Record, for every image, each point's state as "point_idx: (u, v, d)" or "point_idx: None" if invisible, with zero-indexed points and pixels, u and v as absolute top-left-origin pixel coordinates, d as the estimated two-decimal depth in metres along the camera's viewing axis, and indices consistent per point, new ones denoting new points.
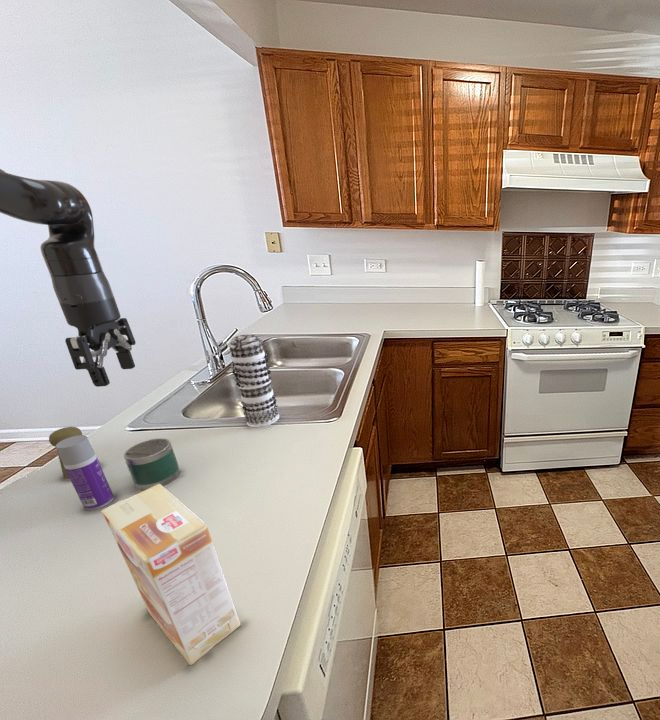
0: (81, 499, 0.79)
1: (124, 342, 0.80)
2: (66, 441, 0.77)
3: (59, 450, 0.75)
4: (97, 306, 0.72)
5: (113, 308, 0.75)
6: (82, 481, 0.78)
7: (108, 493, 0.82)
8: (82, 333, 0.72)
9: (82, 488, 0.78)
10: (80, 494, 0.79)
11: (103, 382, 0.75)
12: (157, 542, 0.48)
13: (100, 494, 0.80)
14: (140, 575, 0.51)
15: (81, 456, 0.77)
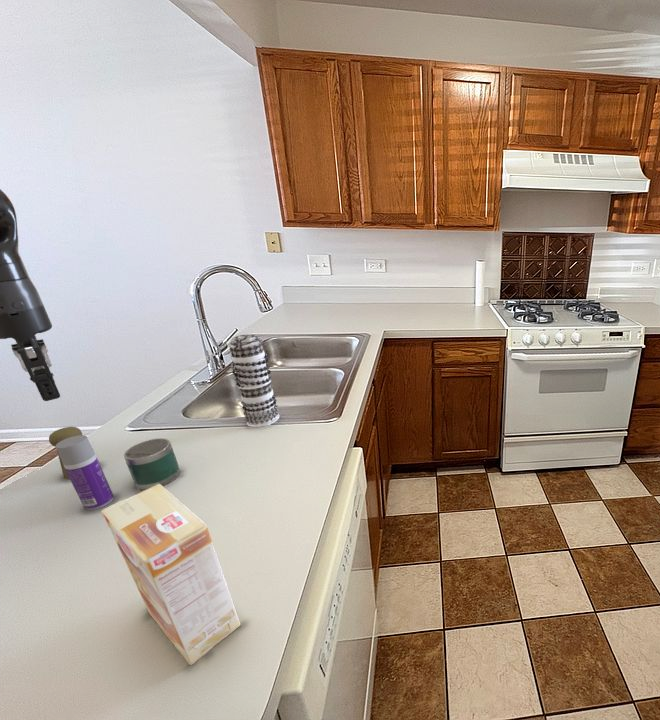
0: (81, 499, 0.79)
1: (47, 354, 0.74)
2: (66, 441, 0.77)
3: (59, 450, 0.75)
4: (37, 313, 0.68)
5: (47, 314, 0.70)
6: (82, 481, 0.78)
7: (108, 493, 0.82)
8: (24, 344, 0.67)
9: (82, 488, 0.78)
10: (80, 494, 0.79)
11: (56, 394, 0.70)
12: (157, 542, 0.48)
13: (100, 494, 0.80)
14: (140, 575, 0.51)
15: (81, 456, 0.77)
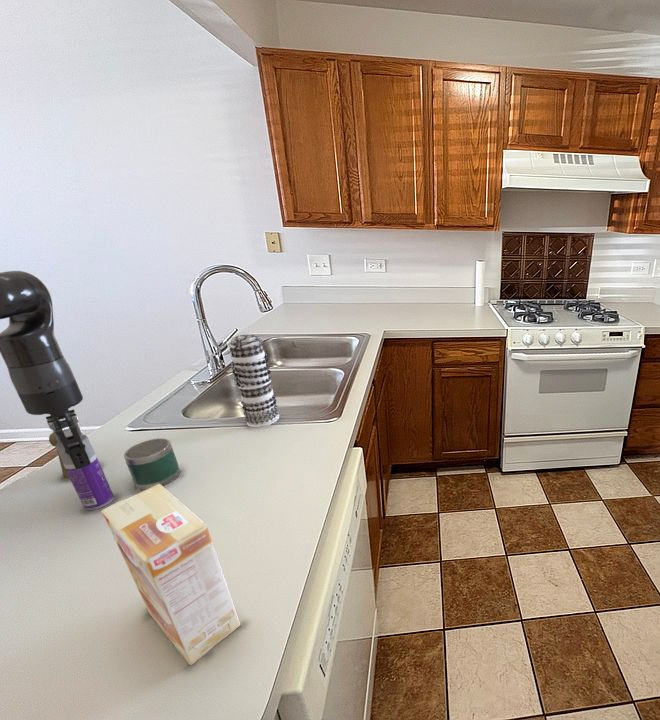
0: (81, 499, 0.79)
1: None
2: None
3: (59, 449, 0.75)
4: (70, 388, 0.73)
5: (78, 387, 0.76)
6: (82, 480, 0.78)
7: (108, 493, 0.82)
8: (59, 420, 0.72)
9: (82, 488, 0.78)
10: (80, 494, 0.79)
11: (87, 462, 0.77)
12: (157, 542, 0.48)
13: (100, 494, 0.80)
14: (140, 575, 0.51)
15: None
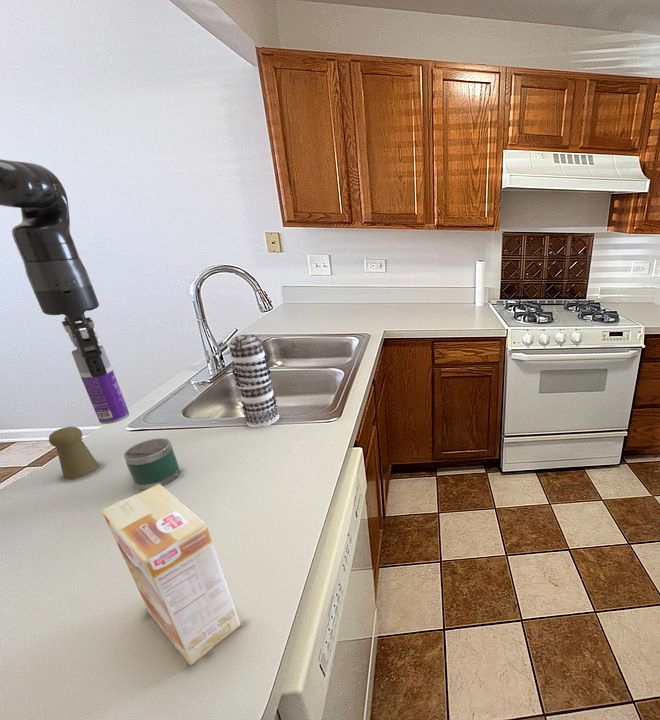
0: (97, 411, 0.78)
1: None
2: None
3: (75, 356, 0.74)
4: (87, 291, 0.72)
5: None
6: (98, 391, 0.76)
7: (124, 408, 0.80)
8: (76, 322, 0.71)
9: (98, 399, 0.77)
10: (96, 405, 0.77)
11: (103, 371, 0.75)
12: (157, 542, 0.48)
13: (116, 407, 0.79)
14: (140, 575, 0.51)
15: None
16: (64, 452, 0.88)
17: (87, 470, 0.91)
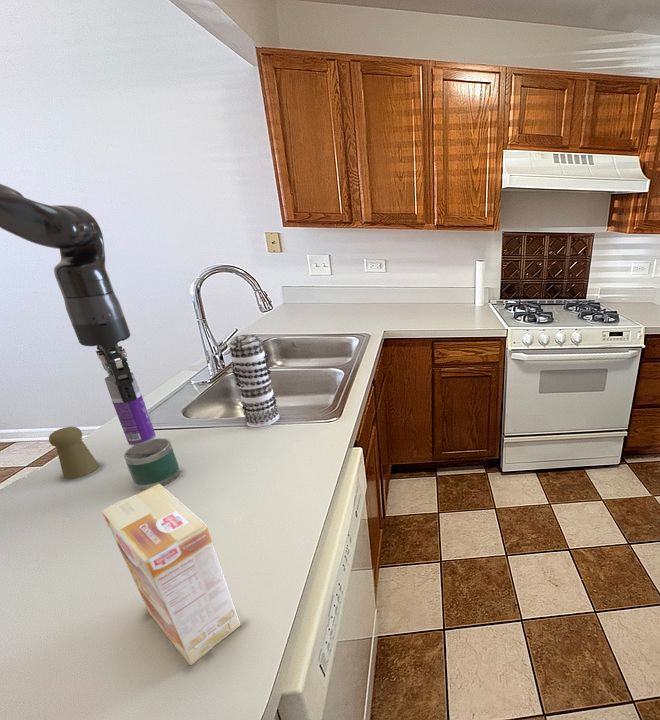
0: (126, 434, 0.82)
1: None
2: None
3: (108, 383, 0.78)
4: (120, 323, 0.76)
5: (126, 324, 0.79)
6: (128, 415, 0.81)
7: (151, 430, 0.85)
8: (110, 352, 0.75)
9: (128, 422, 0.81)
10: (126, 428, 0.82)
11: (134, 396, 0.80)
12: (157, 542, 0.48)
13: (144, 430, 0.84)
14: (140, 575, 0.51)
15: None
16: (64, 452, 0.88)
17: (87, 470, 0.91)
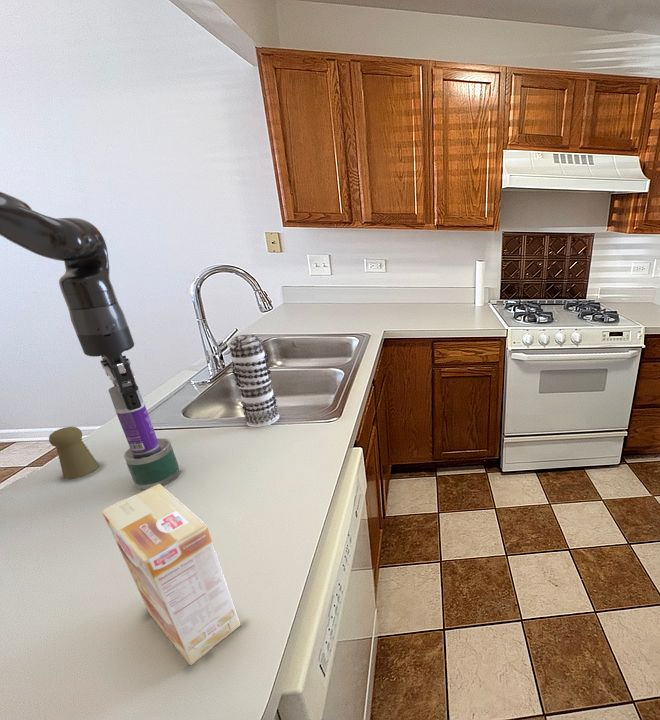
0: (130, 444, 0.83)
1: None
2: (117, 387, 0.81)
3: (112, 394, 0.79)
4: (124, 333, 0.77)
5: (130, 334, 0.80)
6: (132, 425, 0.82)
7: (154, 439, 0.86)
8: (114, 360, 0.76)
9: (132, 433, 0.82)
10: (130, 438, 0.83)
11: (138, 404, 0.80)
12: (157, 542, 0.48)
13: (148, 440, 0.84)
14: (140, 575, 0.51)
15: None
16: (64, 452, 0.88)
17: (87, 470, 0.91)
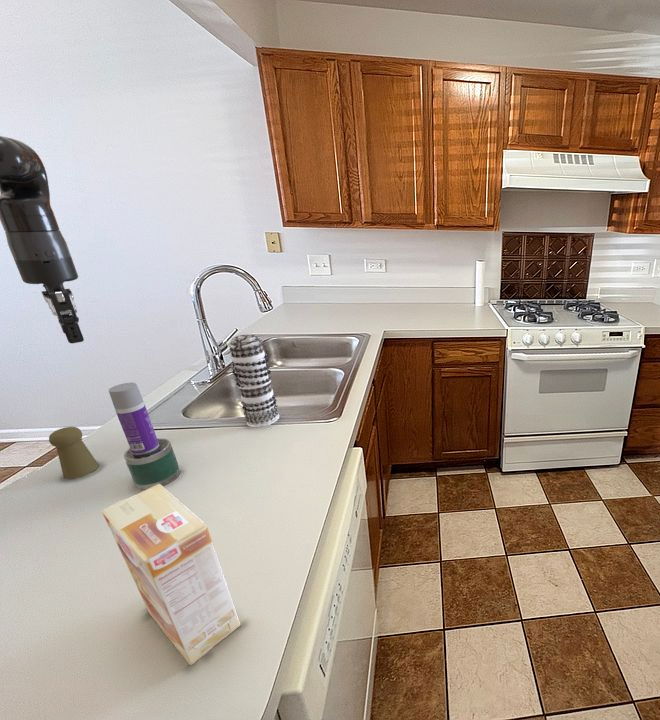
0: (130, 444, 0.83)
1: None
2: (117, 387, 0.81)
3: (112, 394, 0.79)
4: (66, 263, 0.75)
5: None
6: (132, 425, 0.82)
7: (154, 439, 0.86)
8: (54, 289, 0.74)
9: (132, 433, 0.82)
10: (130, 438, 0.83)
11: (80, 337, 0.78)
12: (157, 542, 0.48)
13: (148, 440, 0.84)
14: (140, 575, 0.51)
15: (132, 401, 0.81)
16: (64, 452, 0.88)
17: (87, 470, 0.91)
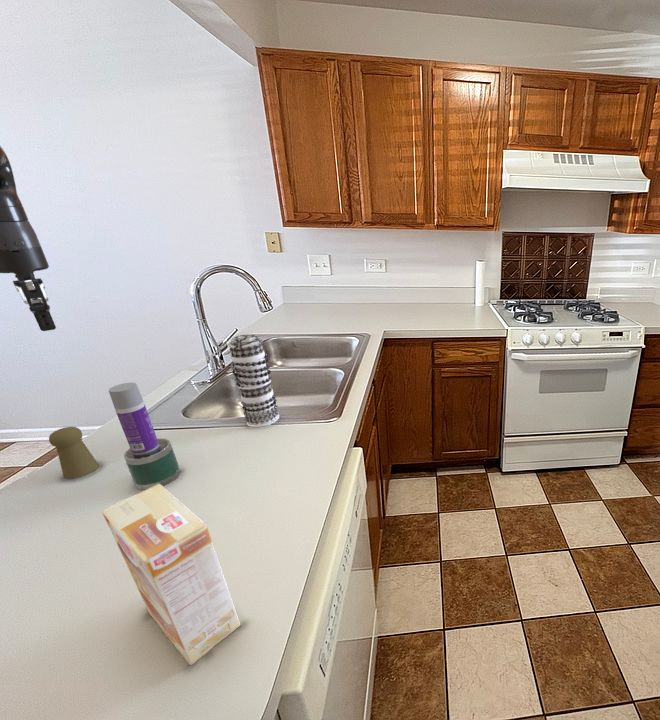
0: (130, 444, 0.83)
1: None
2: (117, 387, 0.81)
3: (112, 394, 0.79)
4: (35, 252, 0.78)
5: (44, 255, 0.80)
6: (132, 425, 0.82)
7: (154, 439, 0.86)
8: (24, 278, 0.76)
9: (132, 433, 0.82)
10: (130, 438, 0.83)
11: (52, 325, 0.80)
12: (157, 542, 0.48)
13: (148, 440, 0.84)
14: (140, 575, 0.51)
15: (132, 401, 0.81)
16: (64, 452, 0.88)
17: (87, 470, 0.91)
